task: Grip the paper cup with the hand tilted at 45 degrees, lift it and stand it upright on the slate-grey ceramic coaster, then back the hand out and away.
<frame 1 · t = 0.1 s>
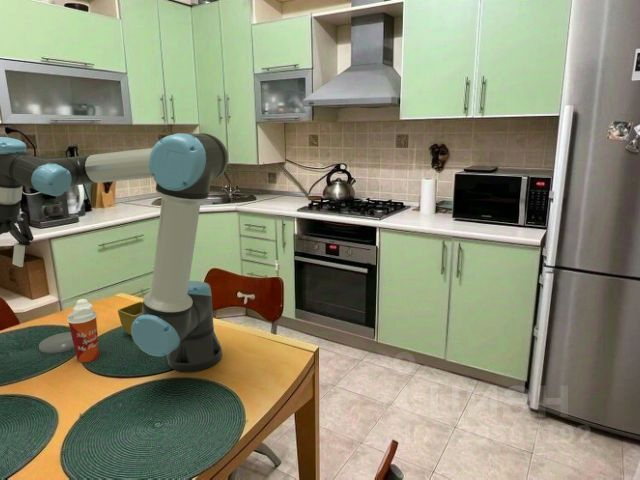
paper cup: (88, 358, 130), on the table
coaster: (62, 344, 138), on the table
muffin: (84, 317, 158), on the table
flower pot: (140, 334, 144), on the table
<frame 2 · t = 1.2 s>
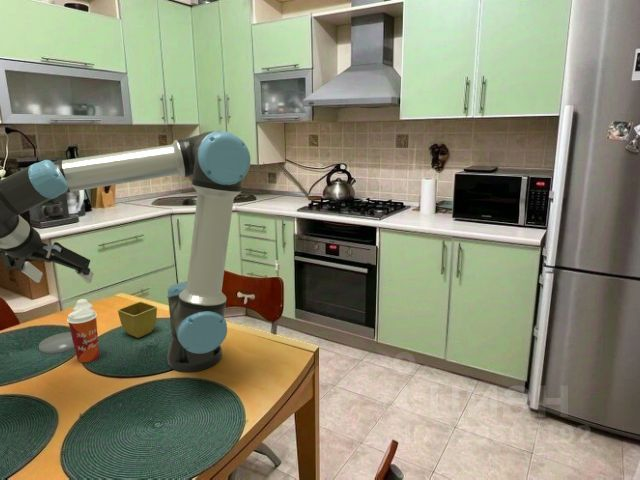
hand: (65, 278, 115), 27 cm above the table, tool tilted 45°, fingers open, 13 cm apart
nothing on the table moved.
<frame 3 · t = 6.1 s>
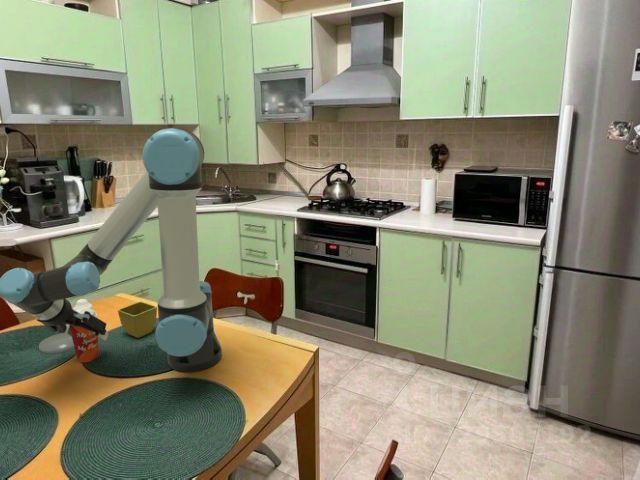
hand: (92, 336, 132), 5 cm above the table, tool tilted 45°, fingers closed on paper cup, 8 cm apart
paper cup: (88, 358, 130), on the table, touching gripper
everything else where it was.
when the fingers open (8 cm above the table, at t = 11.3 s): paper cup drops 1 cm, resting on coaster.
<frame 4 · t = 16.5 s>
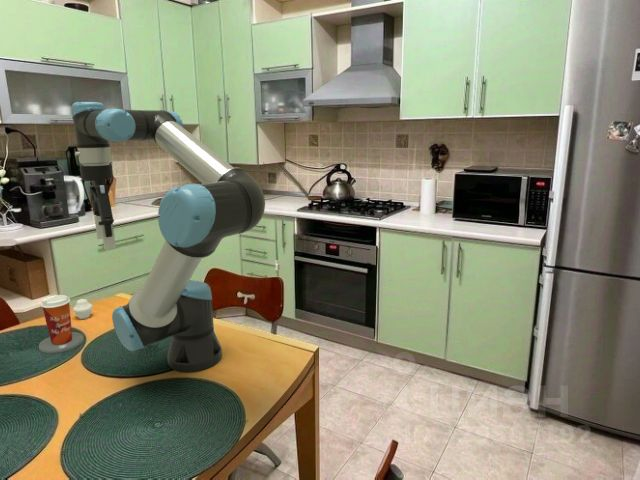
hand: (106, 243, 120), 35 cm above the table, tool pointing down, fingers open, 13 cm apart
paper cup: (62, 341, 137), point 1 cm above the table, touching coaster
everything else where it was.
at the end: paper cup 0.4 cm from the coaster (horizontally); paper cup point 1.0 cm above the table; paper cup tilted 0° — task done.
